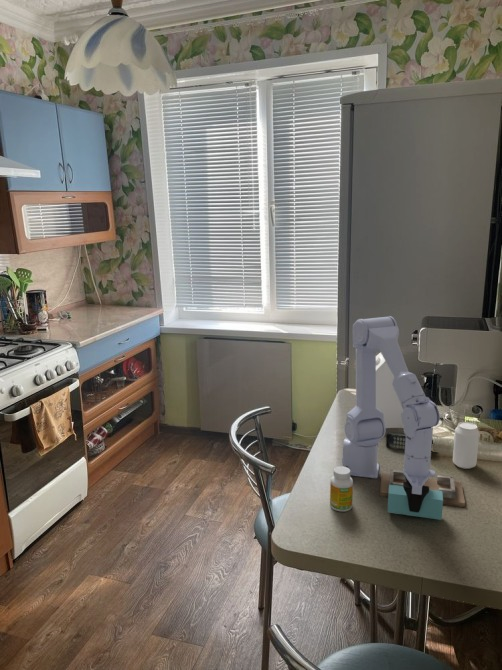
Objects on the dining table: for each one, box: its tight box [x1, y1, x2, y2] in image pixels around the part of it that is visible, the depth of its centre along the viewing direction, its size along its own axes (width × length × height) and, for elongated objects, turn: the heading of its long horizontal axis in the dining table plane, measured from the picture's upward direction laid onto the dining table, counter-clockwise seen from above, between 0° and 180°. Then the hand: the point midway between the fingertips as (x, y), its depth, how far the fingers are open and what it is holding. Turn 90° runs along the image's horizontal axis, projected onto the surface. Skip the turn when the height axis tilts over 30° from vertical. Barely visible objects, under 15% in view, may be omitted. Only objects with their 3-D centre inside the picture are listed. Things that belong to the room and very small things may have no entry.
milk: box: [376, 351, 404, 429], centre depth 173 cm, size 12×12×26 cm
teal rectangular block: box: [387, 485, 444, 521], centre depth 121 cm, size 12×4×5 cm, turn 74°
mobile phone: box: [385, 431, 434, 451], centre depth 154 cm, size 5×3×15 cm
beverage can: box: [452, 421, 480, 470], centre depth 144 cm, size 6×6×12 cm
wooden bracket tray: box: [379, 469, 466, 508], centre depth 132 cm, size 20×10×3 cm, turn 74°
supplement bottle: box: [329, 465, 354, 513], centre depth 126 cm, size 5×5×10 cm
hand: (414, 505), depth 122 cm, fingers closed on teal rectangular block, 4 cm apart
